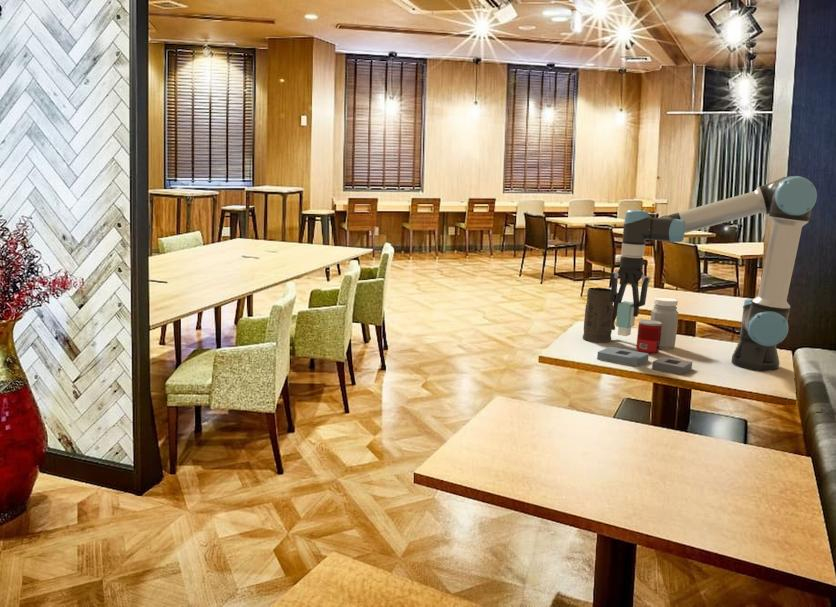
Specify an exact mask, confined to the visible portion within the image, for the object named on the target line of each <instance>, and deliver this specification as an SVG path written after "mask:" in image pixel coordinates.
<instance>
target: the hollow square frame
mask: <svg viewBox="0 0 836 607" xmlns="http://www.w3.org/2000/svg"><path fill="white" fill-rule="evenodd" d="M651 364H652V365H651V369H652V370H655V371H660V372H666V373H671V374H676V375H684V374H686V373H688V372H689V371H691V370H692V368H693V361H689V360H684V359H679V358H673V357H667V356H661V357H659V358H657V359H655V360H653V361H652V363H651Z"/></svg>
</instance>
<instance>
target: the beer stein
mask: <svg viewBox="0 0 836 607" xmlns="http://www.w3.org/2000/svg"><path fill="white" fill-rule="evenodd" d="M617 295H618V292H617ZM610 297H611V288H605V287H588V288H587V296H586V304H585V310H584V319H583V320H584V321H583V334H582V339H583V340H584V341H587V342H591V343H604V344H605V343H610V342H612V331H615V330H616V325H615V322H616V320H617V314H616V313H615V303H614V302H611V301H610ZM616 298H617V297H616Z"/></svg>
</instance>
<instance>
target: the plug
mask: <svg viewBox="0 0 836 607" xmlns="http://www.w3.org/2000/svg"><path fill="white" fill-rule="evenodd" d="M633 306H634V303H633V302H632V301H627V300H626V301H621V303H618V312H617V317H616V320H617V322H616V321H615V322H616V323H615V324H616V325H615V327H618V330H617V335H618V336H623V337H628V336H630V335H631V334H632V327H633V326H629V325H630V316H631V307H633Z"/></svg>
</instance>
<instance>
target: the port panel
mask: <svg viewBox="0 0 836 607" xmlns="http://www.w3.org/2000/svg"><path fill="white" fill-rule="evenodd" d="M596 356H597V357H596V359H597V360H600V359H602V360H601V361H605V360H606V361H607V362H612V363H615V362H616V363H617V364H622V365H627V366H632V367H639V366H641V365H642V364H643V365H644V363H646V362H648V361H649V356H650V354H648V353H643V352H638V351H637V350H631V349H626V348H625V349H624V348H619V347H614V346H609V347H606V348H603V349H601V350H599V351H597V355H596Z"/></svg>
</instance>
